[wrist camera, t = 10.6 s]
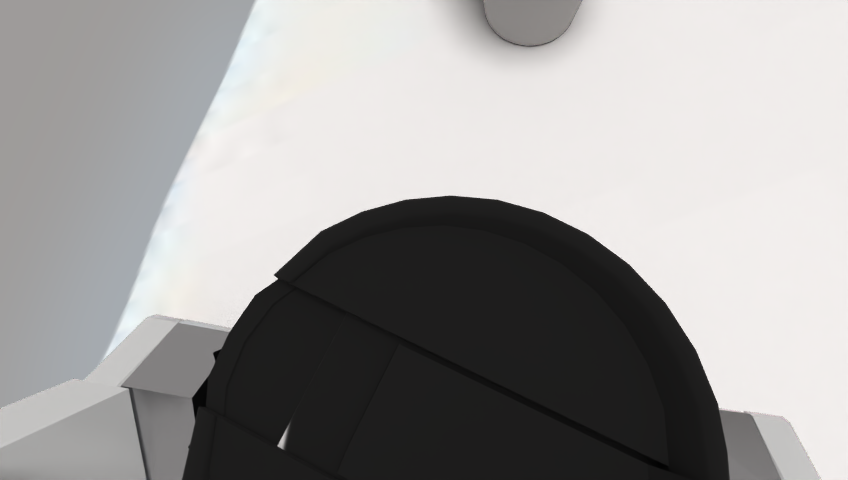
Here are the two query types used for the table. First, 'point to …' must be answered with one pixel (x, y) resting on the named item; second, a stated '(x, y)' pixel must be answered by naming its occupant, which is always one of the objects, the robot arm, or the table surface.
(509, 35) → the cup
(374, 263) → the travel mug
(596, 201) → the table surface
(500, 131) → the table surface
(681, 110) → the table surface
